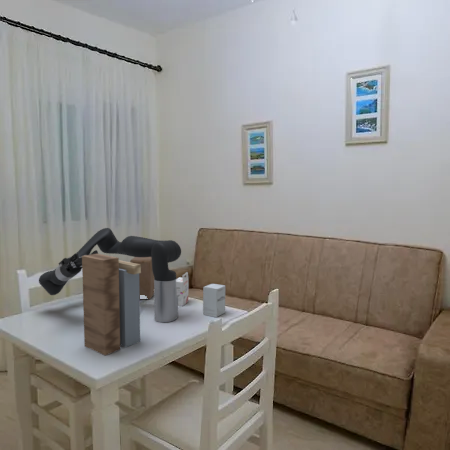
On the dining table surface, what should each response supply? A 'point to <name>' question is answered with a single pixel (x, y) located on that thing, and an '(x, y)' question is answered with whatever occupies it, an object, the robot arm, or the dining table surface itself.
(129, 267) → the bar
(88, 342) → the walnut tower
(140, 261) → the wooden block
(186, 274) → the ink cartridge box
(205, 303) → the supplement box
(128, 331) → the grey post
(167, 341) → the dining table surface
